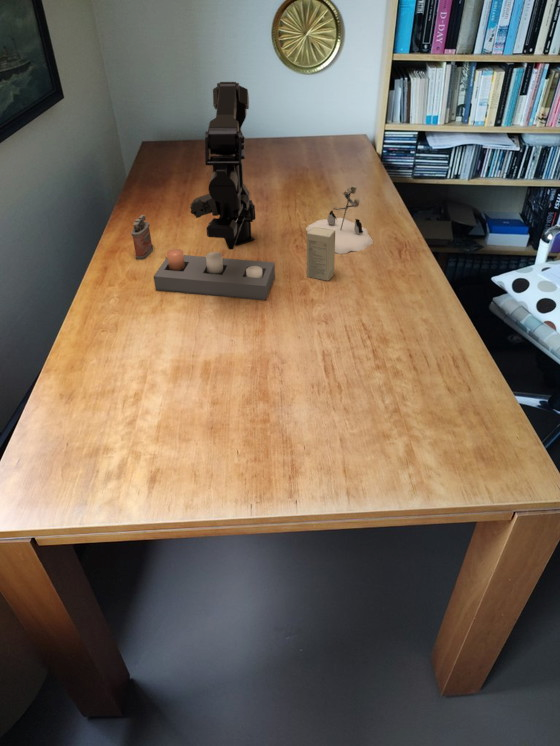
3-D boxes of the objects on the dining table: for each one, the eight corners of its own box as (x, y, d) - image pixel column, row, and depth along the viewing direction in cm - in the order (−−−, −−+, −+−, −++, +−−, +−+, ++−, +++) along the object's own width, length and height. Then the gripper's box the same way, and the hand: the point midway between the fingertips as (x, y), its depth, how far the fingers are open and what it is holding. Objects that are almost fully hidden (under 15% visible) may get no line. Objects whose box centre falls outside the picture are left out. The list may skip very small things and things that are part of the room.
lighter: (144, 260, 149) (138, 225, 143) (133, 259, 150) (126, 224, 144) (155, 247, 155) (150, 213, 149) (144, 246, 156) (138, 212, 150)
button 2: (264, 280, 139) (263, 266, 137) (260, 288, 136) (260, 274, 134) (248, 279, 140) (248, 265, 137) (245, 287, 137) (244, 273, 134)
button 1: (225, 267, 139) (223, 252, 136) (221, 274, 136) (219, 260, 133) (209, 265, 139) (208, 251, 137) (205, 273, 136) (203, 258, 134)
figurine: (292, 233, 160) (297, 178, 149) (336, 216, 170) (344, 164, 159) (340, 263, 150) (350, 208, 139) (384, 244, 159) (397, 191, 148)
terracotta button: (186, 263, 140) (185, 249, 137) (182, 271, 137) (180, 256, 134) (171, 262, 141) (169, 248, 138) (166, 270, 137) (164, 255, 135)
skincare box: (334, 274, 143) (337, 230, 135) (328, 281, 140) (331, 237, 132) (311, 269, 145) (313, 225, 138) (305, 276, 142) (306, 232, 134)
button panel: (274, 276, 142) (274, 262, 140) (265, 300, 133) (265, 286, 131) (171, 267, 146) (169, 253, 144) (155, 290, 137) (153, 276, 135)
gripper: (202, 169, 131) (208, 230, 141) (180, 199, 117) (188, 265, 127) (248, 171, 130) (250, 232, 140) (231, 202, 115) (235, 268, 125)
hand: (231, 248), depth 133 cm, fingers closed
